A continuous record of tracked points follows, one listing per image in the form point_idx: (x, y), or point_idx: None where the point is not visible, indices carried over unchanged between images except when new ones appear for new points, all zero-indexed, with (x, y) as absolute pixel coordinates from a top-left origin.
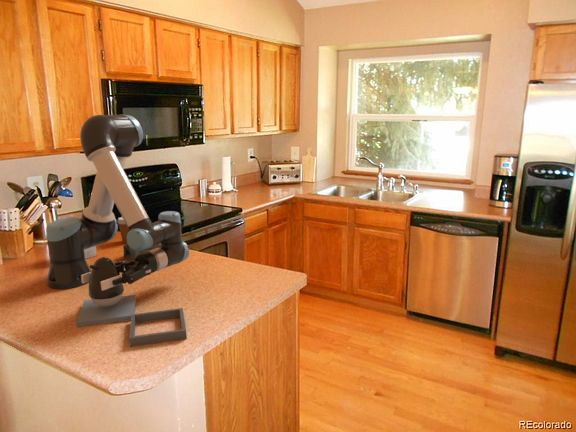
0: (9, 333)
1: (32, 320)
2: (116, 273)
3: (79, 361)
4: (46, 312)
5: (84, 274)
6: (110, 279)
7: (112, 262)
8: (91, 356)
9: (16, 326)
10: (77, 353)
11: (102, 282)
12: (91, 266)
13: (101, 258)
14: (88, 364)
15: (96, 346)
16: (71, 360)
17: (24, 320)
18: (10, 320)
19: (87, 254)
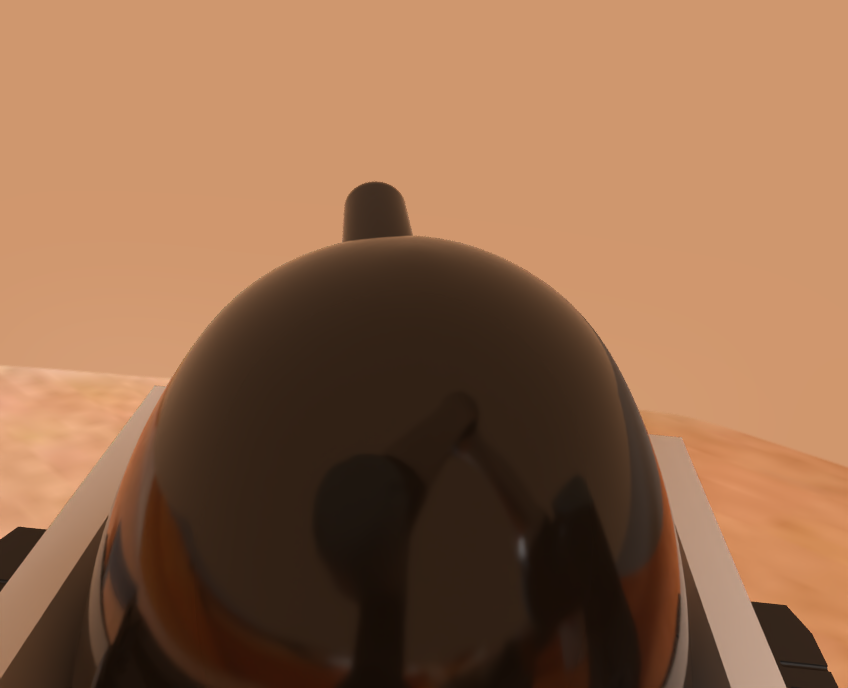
0: (645, 413)
1: (743, 523)
2: (77, 665)
3: (73, 383)
4: (840, 632)
5: (666, 462)
6: (85, 485)
7: (171, 471)
8: (31, 417)
9: (713, 456)
10: (131, 412)
11: (154, 395)
12: (355, 196)
13: (412, 240)
14: (8, 382)
15: (58, 475)
16: (120, 378)
17: (778, 506)
18: (834, 480)
19: None
